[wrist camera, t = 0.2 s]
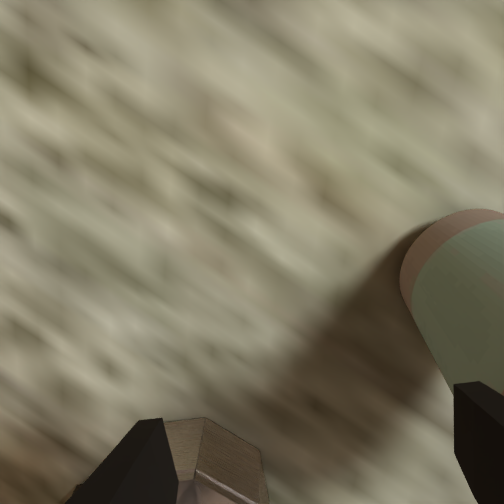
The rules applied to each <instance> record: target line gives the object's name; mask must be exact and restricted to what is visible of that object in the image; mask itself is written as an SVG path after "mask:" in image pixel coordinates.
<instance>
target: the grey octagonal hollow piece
mask: <svg viewBox="0 0 504 504" xmlns="http://www.w3.org/2000/svg"><path fill="white" fill-rule="evenodd" d="M164 426H165V430H166V434H167V438H168V442H169V446H170V450H171V453H172V457H173V461H174V465H175V469H176V473H177V476H178V480H179V485H178V494H177V502H176V504H269V498H268V493H267V488H266V482H265V477H264V472H263V466H262V461H261V456H260V451H259V450H258V449H256V448H255V447H253V446H252V445H250V444H248V443H247V442H245V441H243V440H242V439H240V438H238V437H237V436H235V435H233V434H232V433H230V432H228V431H227V430H225V429H223V428H222V427H220V426H219V425H217V424H215V423H214V422H212V421H210V420H209V419H207V418H206V419H205V418H198V419H190V420H181V421H173V422H164ZM82 485H83V484H80V485H77V486H76V488H75V490H74V492H73V494H74V493H75V492H76V491H77V490H78V489H79V488H80V487H81V486H82ZM73 494H72V495H73Z"/></svg>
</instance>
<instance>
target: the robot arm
mask: <svg viewBox="0 0 504 504" xmlns="http://www.w3.org/2000/svg"><path fill="white" fill-rule="evenodd" d="M453 390H454V453H455V456H456V458H457V460H458V463H459V465H460V467H461V469H462V472H463V474H464V476H465V478H466V480H467V483H468V485H469V487H470V489H471V491H472V493H473V495H474V497H475V499H476V501H477V503H478V504H504V396H503V395H502V394H500V393H498V392H497V391H495V390H494V389H492V388H490V387H489V386H487V385H485V384H484V383H482V382H480V381H475V382H466V383H458V384H453ZM178 485H179V480H178V476H177V473H176V469H175V465H174V461H173V457H172V453H171V450H170V446H169V442H168V438H167V434H166V430H165V426H164V423H163V419H162V418H155V419H147V420H139V421H138V422H137V423H136V424H135V425H134V426H133V427H132V428H131V430H130V431H129V432H128V433H127V434H126V435H125V437H124V438H123V439H122V440H121V441H120V442H119V444H118V445H117V446H116V447H115V448H114V449H113V451H112V452H111V453H110V454H109V455H108V456H107V458H106V459H105V460H104V461H103V462H102V463H101V464H100V465H99V467H98V468H97V469H96V470H95V471H94V472H93V473H92V475H91V476H90V477H89V478H88V479H87V480H86V481H85V482H84V484H83V485H82V486H81V487H80V488H79V489H78V490H77V491H76V492H75V493H74V494H73V495H72V496H71V497H70V498H69V499H68V500H67V502H66V503H65V504H176V502H177V494H178Z"/></svg>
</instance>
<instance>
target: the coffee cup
mask: <svg viewBox="0 0 504 504" xmlns="http://www.w3.org/2000/svg"><path fill="white" fill-rule="evenodd" d="M399 284H400V291H401V294H402V297H403V299H404V301H405V303H406V305H407V307H408V309H409V311H410V313H411V315H412V317H413V319H414V321H415V323H416V325H417V327H418V329H419V331H420V333H421V335H422V336H423V338H424V340H425V342H426V344H427V346H428V348H429V350H430V352H431V354H432V356H433V357H434V359H435V361H436V363H437V365H438V367H439V369H440V371H441V373H442V375H443V377H444V378H445V380H446V382H447V384H448V386H449V388H450V390H451V392H452V394H453V396H454V390H453V384H458V383H466V382H475V381H480V382H482V383H484V384H485V385H487V386H489V387H490V388H492V389H494V390H495V391H497V392H498V393H500V394H502V395H503V396H504V214H502V213H499V212H496V211H493V210H487V209H470V210H464V211H460V212H456V213H454V214H451V215H448V216H446V217H444V218H442V219H440V220H439V221H437V222H435V223H434V224H432V225H431V226H430V227H428V228H427V229H426V230H425V231H424V232H423V233H422V234H421V235H420V236H419V237H418V238H417V239H416V240H415V241H414V243H413V244H412V245H411V247H410V248H409V250H408V252H407V254H406V255H405V258H404V260H403V263H402V266H401V270H400V277H399Z"/></svg>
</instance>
